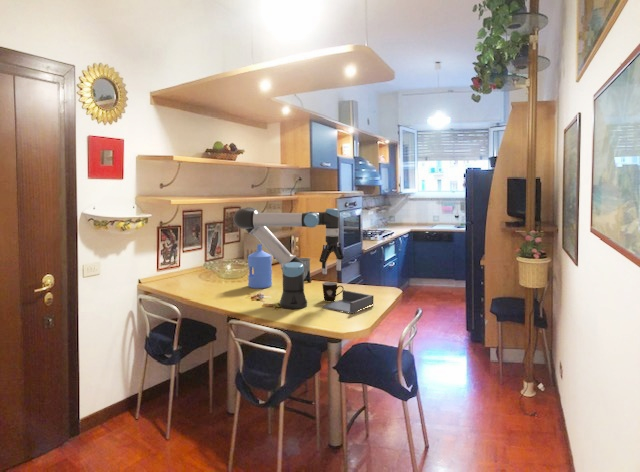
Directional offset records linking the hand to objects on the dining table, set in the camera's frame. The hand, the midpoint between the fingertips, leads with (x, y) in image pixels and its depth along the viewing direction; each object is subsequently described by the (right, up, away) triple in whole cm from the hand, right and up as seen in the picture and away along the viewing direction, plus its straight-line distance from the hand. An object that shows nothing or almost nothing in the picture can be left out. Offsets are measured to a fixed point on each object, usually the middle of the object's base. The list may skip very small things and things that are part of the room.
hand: (331, 272), depth 246 cm
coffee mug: (0, -17, +1) cm, 17 cm away
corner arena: (+9, -18, -13) cm, 24 cm away
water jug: (-47, -13, +38) cm, 62 cm away
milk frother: (-17, -11, +58) cm, 62 cm away
